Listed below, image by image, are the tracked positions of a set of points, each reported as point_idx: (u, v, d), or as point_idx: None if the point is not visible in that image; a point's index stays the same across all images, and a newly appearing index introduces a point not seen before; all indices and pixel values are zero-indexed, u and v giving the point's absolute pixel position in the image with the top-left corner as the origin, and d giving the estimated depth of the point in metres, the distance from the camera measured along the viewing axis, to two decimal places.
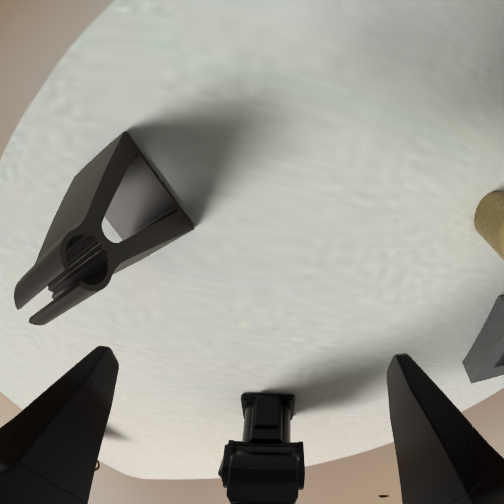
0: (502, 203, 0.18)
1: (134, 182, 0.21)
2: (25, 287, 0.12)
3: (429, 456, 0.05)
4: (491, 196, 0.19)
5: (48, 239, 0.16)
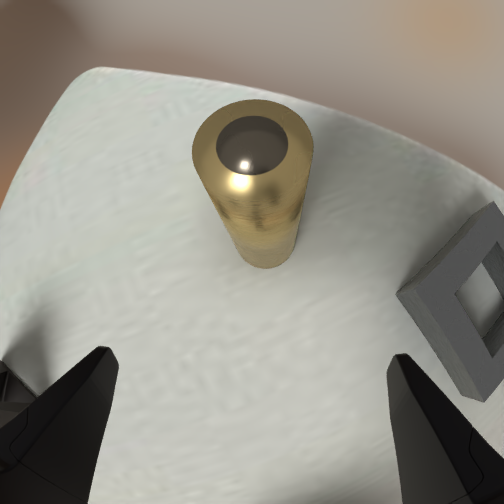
0: None
1: (14, 393, 0.21)
2: None
3: (429, 456, 0.05)
4: None
5: None
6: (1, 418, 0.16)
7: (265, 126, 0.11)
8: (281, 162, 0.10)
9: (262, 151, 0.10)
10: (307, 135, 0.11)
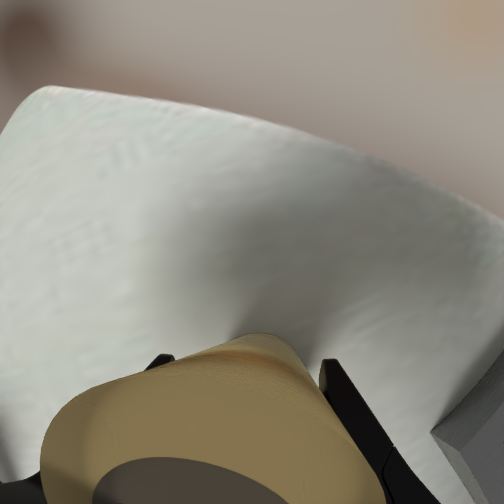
0: None
1: None
2: None
3: None
4: None
5: None
6: None
7: None
8: None
9: None
10: None
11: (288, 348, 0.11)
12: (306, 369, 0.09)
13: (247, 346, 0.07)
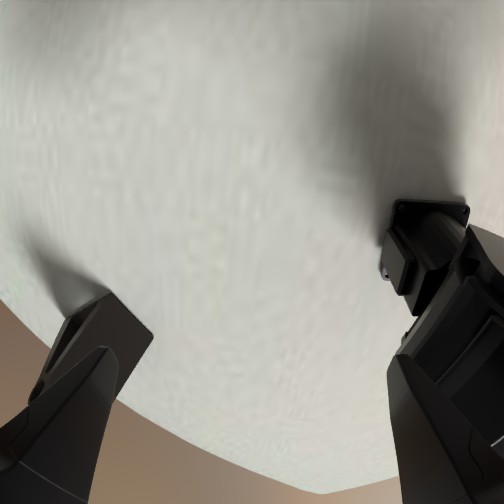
0: None
1: None
2: None
3: (429, 456, 0.05)
4: None
5: None
6: (82, 349, 0.21)
7: None
8: None
9: None
10: None
11: None
12: None
13: None
